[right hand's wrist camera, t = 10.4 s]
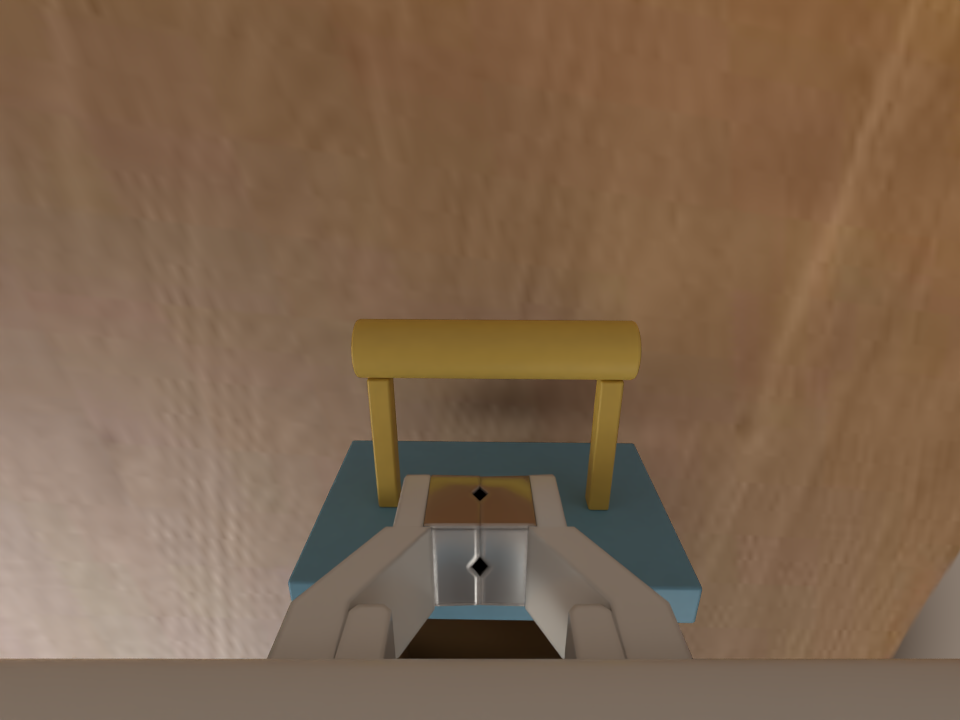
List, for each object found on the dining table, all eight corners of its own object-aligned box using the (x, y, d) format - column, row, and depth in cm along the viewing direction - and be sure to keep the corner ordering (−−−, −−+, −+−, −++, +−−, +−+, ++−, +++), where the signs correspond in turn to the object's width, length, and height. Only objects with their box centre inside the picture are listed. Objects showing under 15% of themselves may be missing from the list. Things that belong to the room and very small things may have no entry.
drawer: (335, 285, 16) (244, 369, 10) (655, 287, 16) (753, 373, 10) (389, 765, 26) (358, 952, 20) (588, 769, 26) (618, 958, 20)
